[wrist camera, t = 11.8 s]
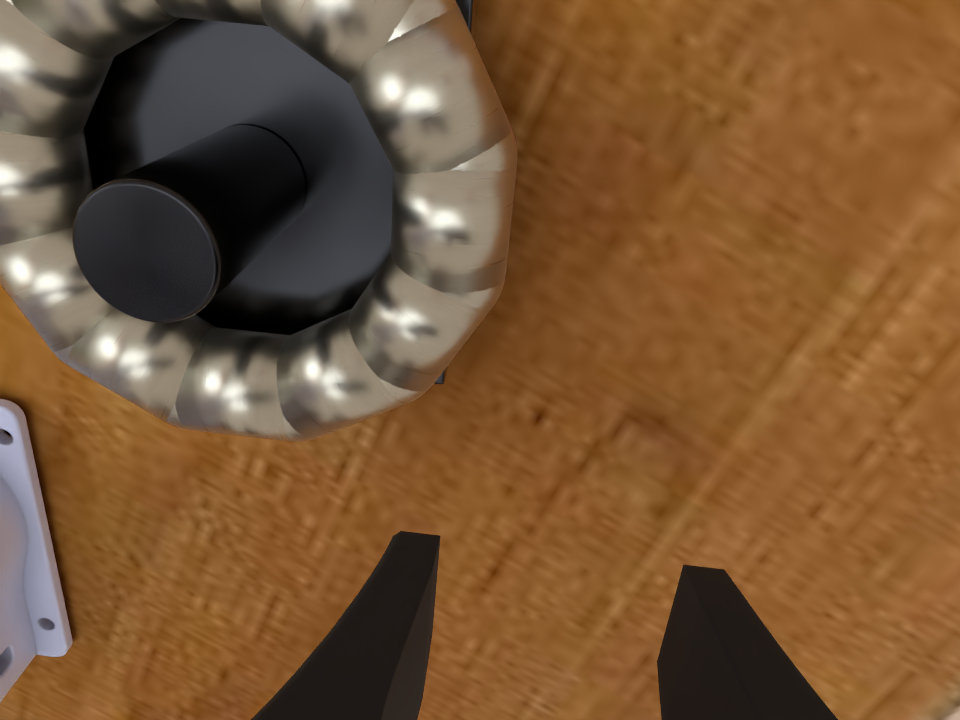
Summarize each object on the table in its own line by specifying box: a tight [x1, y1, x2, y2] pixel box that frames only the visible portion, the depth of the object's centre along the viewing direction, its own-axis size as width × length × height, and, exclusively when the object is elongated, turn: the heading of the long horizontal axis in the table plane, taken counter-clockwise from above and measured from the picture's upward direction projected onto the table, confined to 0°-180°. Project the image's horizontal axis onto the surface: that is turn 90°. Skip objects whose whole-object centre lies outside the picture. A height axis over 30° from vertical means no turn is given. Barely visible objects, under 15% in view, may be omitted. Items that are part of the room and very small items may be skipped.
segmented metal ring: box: [0, 0, 518, 442], centre depth 15 cm, size 11×11×2 cm
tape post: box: [72, 0, 478, 384], centre depth 15 cm, size 9×9×6 cm
